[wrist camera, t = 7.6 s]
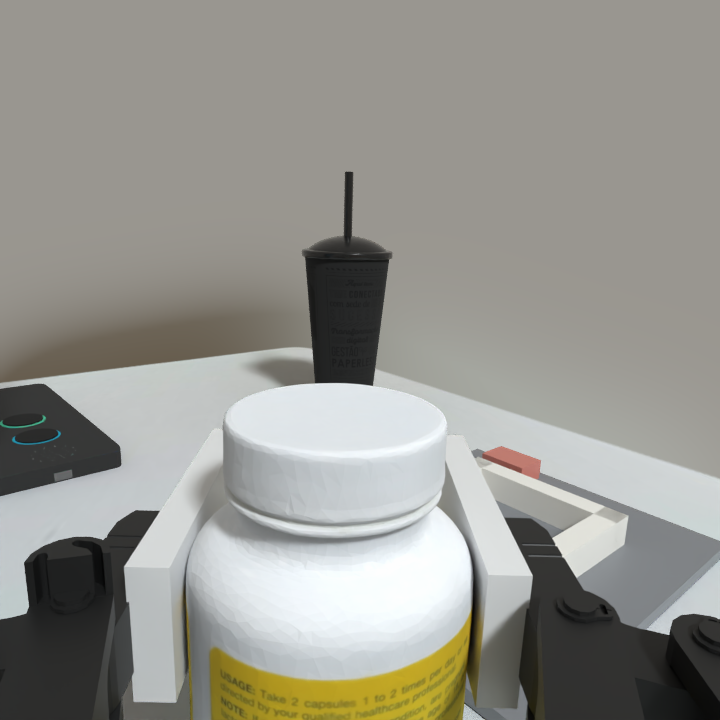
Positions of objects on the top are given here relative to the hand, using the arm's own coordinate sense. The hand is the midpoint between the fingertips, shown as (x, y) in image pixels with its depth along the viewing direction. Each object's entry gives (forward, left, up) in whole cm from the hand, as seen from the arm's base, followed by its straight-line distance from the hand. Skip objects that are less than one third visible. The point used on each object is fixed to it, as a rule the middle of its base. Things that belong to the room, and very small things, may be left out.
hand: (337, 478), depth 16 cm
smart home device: (-36, -1, -10) cm, 37 cm away
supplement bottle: (+4, -3, -6) cm, 8 cm away
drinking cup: (-27, +23, -9) cm, 37 cm away
